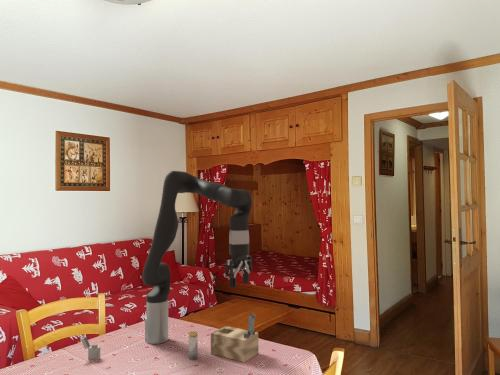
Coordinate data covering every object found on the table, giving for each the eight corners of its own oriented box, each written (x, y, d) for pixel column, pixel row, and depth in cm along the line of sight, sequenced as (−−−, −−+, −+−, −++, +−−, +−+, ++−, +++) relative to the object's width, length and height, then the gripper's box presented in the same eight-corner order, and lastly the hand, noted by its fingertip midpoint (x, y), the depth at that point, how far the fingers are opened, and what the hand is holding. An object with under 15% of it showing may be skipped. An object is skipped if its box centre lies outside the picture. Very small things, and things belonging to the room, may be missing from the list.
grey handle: (248, 316, 144) (251, 316, 144) (253, 313, 147) (256, 314, 147) (246, 336, 145) (248, 337, 144) (251, 333, 148) (253, 334, 147)
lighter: (100, 357, 147) (100, 336, 148) (98, 359, 145) (98, 338, 146) (82, 357, 148) (83, 336, 148) (80, 359, 146) (80, 337, 146)
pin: (186, 358, 145) (186, 333, 145) (192, 355, 148) (192, 330, 148) (193, 360, 143) (193, 335, 144) (199, 357, 146) (199, 332, 146)
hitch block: (210, 353, 150) (210, 328, 150) (226, 345, 158) (225, 322, 159) (244, 362, 141) (244, 336, 141) (258, 353, 149) (258, 328, 150)
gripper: (241, 240, 150) (241, 281, 150) (219, 243, 139) (219, 288, 138) (257, 241, 146) (258, 283, 146) (236, 244, 134) (236, 290, 134)
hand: (239, 285), depth 142 cm, fingers open, 8 cm apart
